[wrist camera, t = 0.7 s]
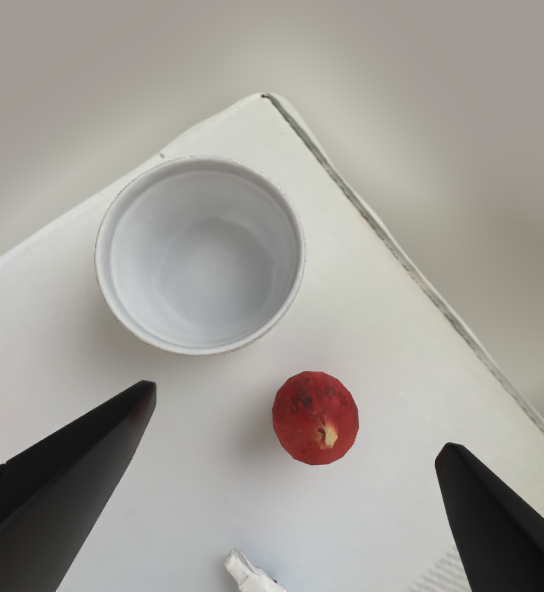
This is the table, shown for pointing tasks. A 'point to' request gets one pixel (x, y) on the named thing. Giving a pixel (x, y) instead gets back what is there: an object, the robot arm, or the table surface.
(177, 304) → the ramekin
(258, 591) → the white animal figurine
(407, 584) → the table surface
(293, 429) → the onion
